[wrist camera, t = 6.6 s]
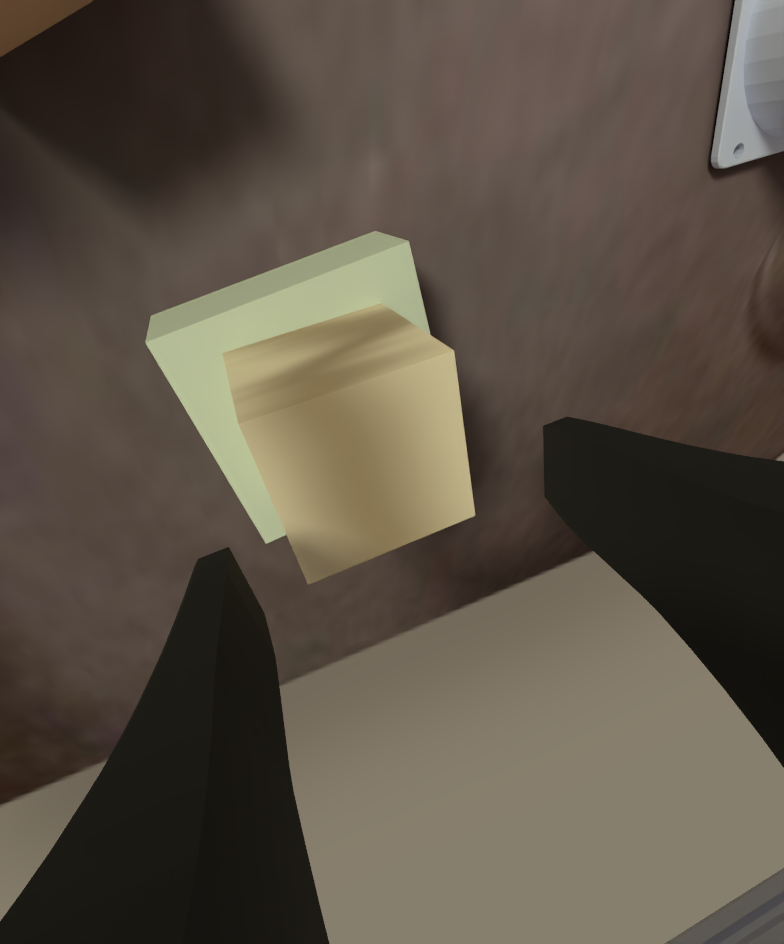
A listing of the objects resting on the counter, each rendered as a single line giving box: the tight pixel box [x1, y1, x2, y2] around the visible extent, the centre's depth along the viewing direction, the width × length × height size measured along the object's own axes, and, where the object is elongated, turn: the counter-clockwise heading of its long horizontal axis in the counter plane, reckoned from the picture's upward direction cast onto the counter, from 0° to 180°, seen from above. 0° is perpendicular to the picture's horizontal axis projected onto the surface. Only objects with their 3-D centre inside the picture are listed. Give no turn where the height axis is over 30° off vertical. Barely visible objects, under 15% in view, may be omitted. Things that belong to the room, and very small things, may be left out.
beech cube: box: [222, 303, 475, 585], centre depth 14 cm, size 5×5×5 cm
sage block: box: [145, 231, 430, 544], centre depth 18 cm, size 8×8×4 cm
